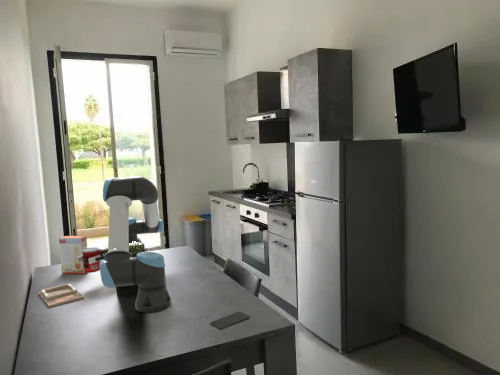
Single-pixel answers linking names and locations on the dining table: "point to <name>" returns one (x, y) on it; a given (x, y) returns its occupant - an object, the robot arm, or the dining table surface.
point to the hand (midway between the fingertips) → (83, 260)
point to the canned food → (86, 255)
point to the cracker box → (72, 253)
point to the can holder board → (60, 295)
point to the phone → (229, 320)
